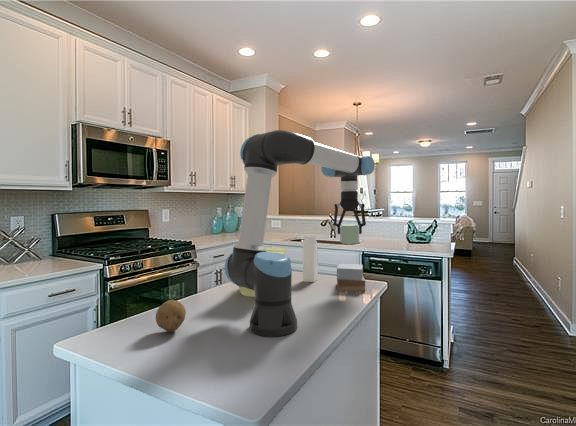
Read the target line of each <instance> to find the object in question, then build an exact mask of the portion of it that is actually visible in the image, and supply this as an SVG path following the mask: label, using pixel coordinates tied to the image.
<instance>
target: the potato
mask: <svg viewBox="0 0 576 426" xmlns="http://www.w3.org/2000/svg"><path fill="white" fill-rule="evenodd" d="M185 317H186V307H185V306H184V304H182V303H181V302H180V301H179V300H175V299H169V300H167V301H165V302H163V303H162V304H161V305H160V306H159V307H158V309H157V311H156V313H155V322H156V324H157V326H158V327H159V328H160V329H162V330H164V331H166V332H168V333H173V332H176V330H178V329H179V328H180V327H181V326H182V324H183V322H184V320H185Z"/></svg>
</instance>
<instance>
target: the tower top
mask: <svg viewBox="0 0 576 426" xmlns="http://www.w3.org/2000/svg"><path fill="white" fill-rule="evenodd" d="M363 274H364V265H363V264H357V263H356V264H355V263H353V264H352V263H351V264H350V263H339V264H338V265H337V267H336V280H337V279H339V280H359V281H362V277H364V275H363Z"/></svg>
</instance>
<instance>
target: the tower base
mask: <svg viewBox="0 0 576 426" xmlns="http://www.w3.org/2000/svg"><path fill="white" fill-rule="evenodd" d="M336 285H337V291H341V292H342V291H343V292H366V279H365V277H364V276H363V277H362V281H359V280H339V279H337V278H336Z"/></svg>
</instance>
